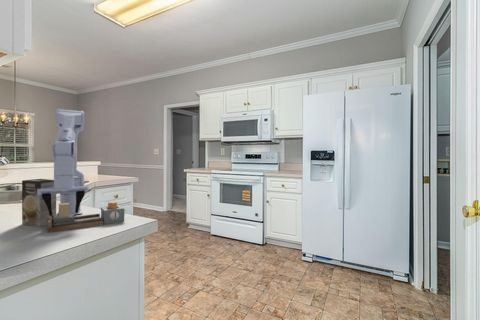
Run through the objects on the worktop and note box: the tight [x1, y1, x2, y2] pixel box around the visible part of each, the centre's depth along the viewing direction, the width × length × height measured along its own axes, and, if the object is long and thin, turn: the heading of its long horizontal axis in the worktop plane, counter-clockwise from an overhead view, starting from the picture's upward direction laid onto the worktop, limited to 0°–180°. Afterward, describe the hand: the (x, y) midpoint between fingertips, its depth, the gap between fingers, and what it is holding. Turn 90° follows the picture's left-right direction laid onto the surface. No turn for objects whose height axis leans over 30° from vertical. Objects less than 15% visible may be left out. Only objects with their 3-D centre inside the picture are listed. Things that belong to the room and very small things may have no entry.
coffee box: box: [21, 178, 57, 228], centre depth 91 cm, size 9×6×16 cm
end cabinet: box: [100, 204, 125, 225], centre depth 97 cm, size 8×7×5 cm
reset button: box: [107, 201, 118, 209], centre depth 97 cm, size 3×3×4 cm
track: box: [47, 213, 104, 233], centre depth 90 cm, size 9×16×4 cm, turn 127°
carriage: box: [53, 202, 76, 224], centre depth 87 cm, size 5×6×6 cm
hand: (64, 213), depth 87 cm, fingers open, 7 cm apart
